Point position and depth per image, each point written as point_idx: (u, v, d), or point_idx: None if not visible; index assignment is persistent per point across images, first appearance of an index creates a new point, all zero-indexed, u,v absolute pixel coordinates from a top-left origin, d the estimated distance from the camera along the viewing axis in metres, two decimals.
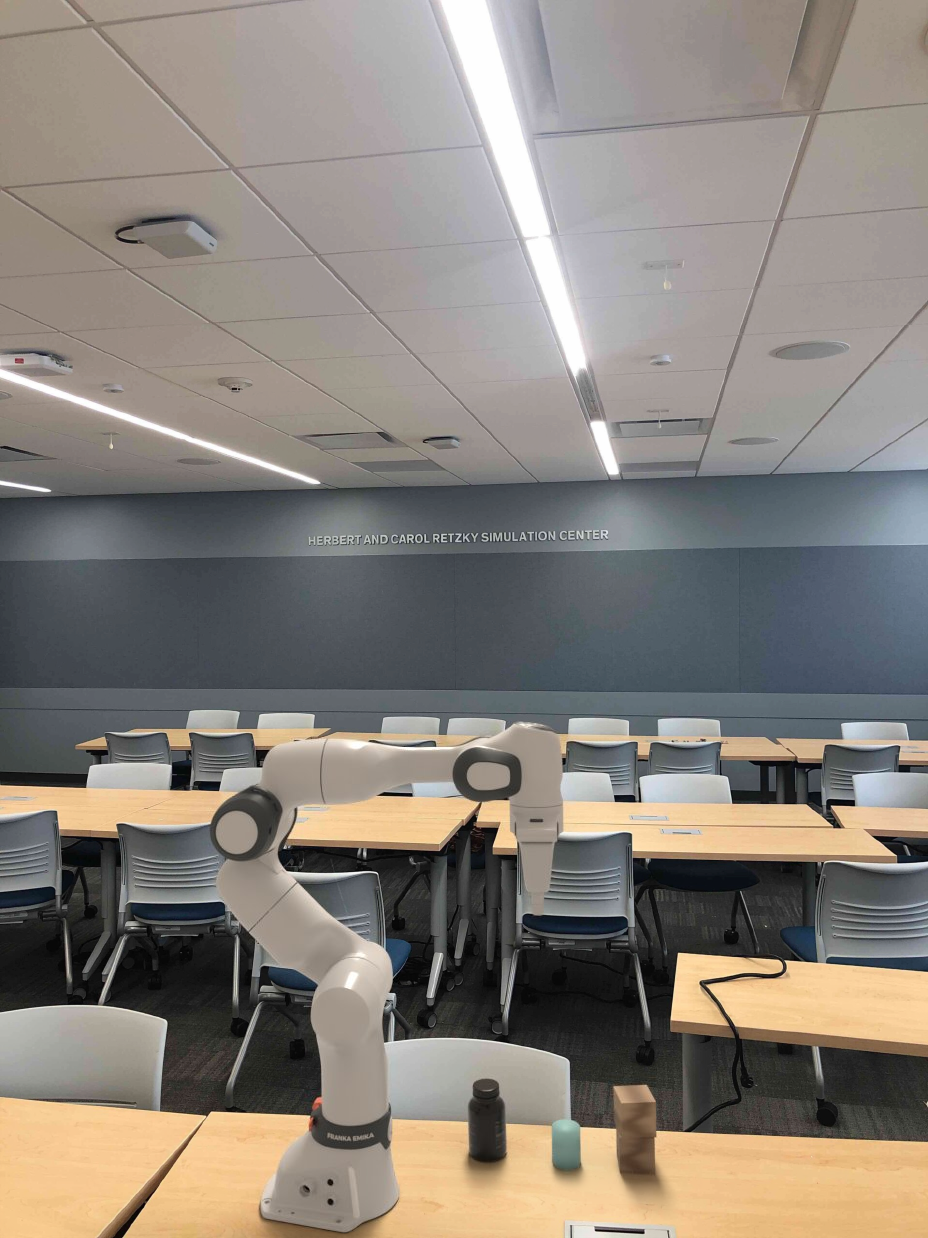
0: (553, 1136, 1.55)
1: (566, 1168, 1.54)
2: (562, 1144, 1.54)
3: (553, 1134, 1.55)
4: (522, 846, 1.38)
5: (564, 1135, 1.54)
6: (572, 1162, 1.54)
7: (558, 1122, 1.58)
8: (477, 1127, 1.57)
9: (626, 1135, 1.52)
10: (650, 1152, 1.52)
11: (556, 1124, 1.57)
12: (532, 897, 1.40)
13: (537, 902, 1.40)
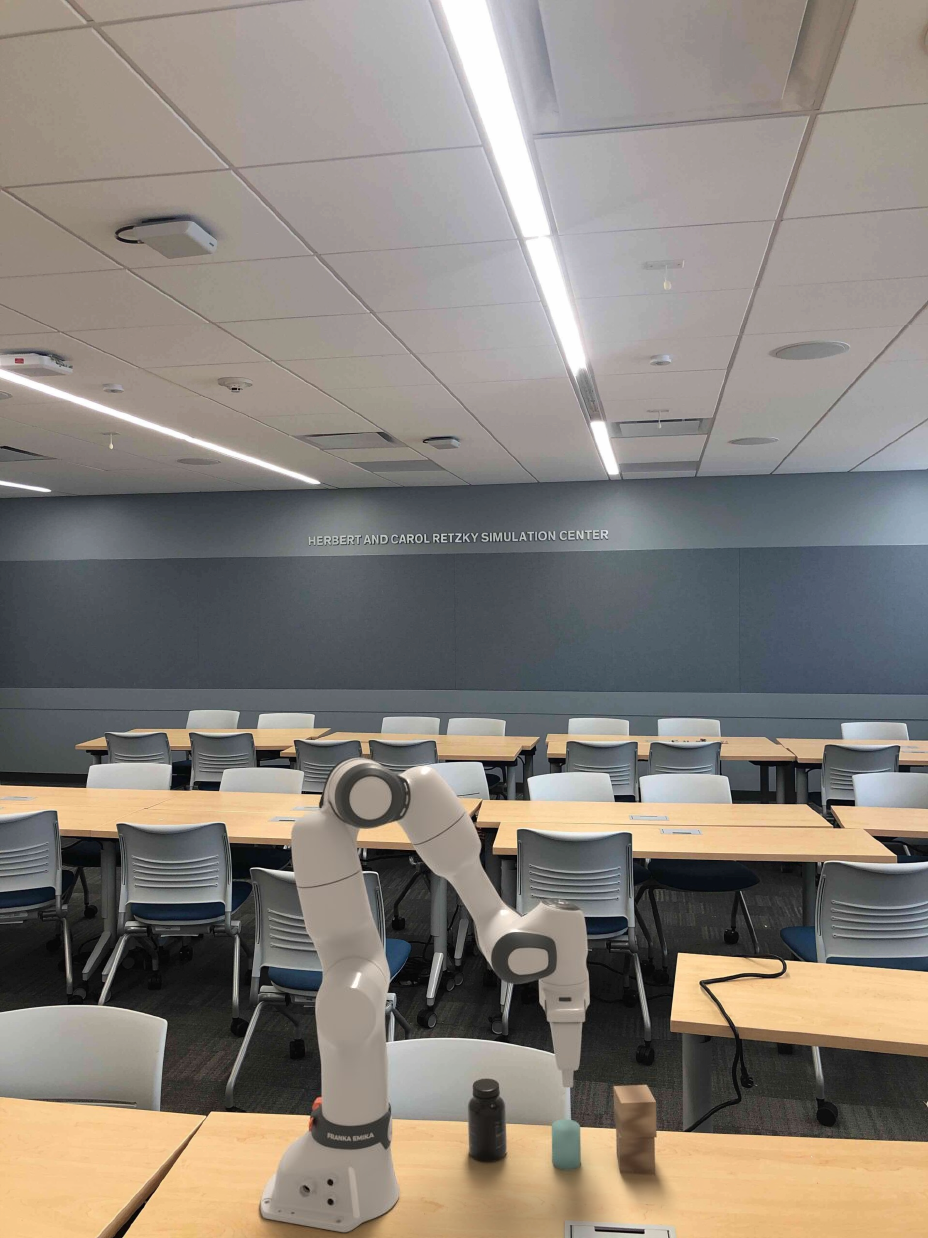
0: (553, 1136, 1.55)
1: (566, 1168, 1.54)
2: (562, 1144, 1.54)
3: (553, 1134, 1.55)
4: (553, 1027, 1.49)
5: (564, 1135, 1.54)
6: (572, 1162, 1.54)
7: (558, 1122, 1.58)
8: (477, 1127, 1.57)
9: (626, 1135, 1.52)
10: (650, 1152, 1.52)
11: (556, 1124, 1.57)
12: (562, 1071, 1.51)
13: (567, 1075, 1.51)
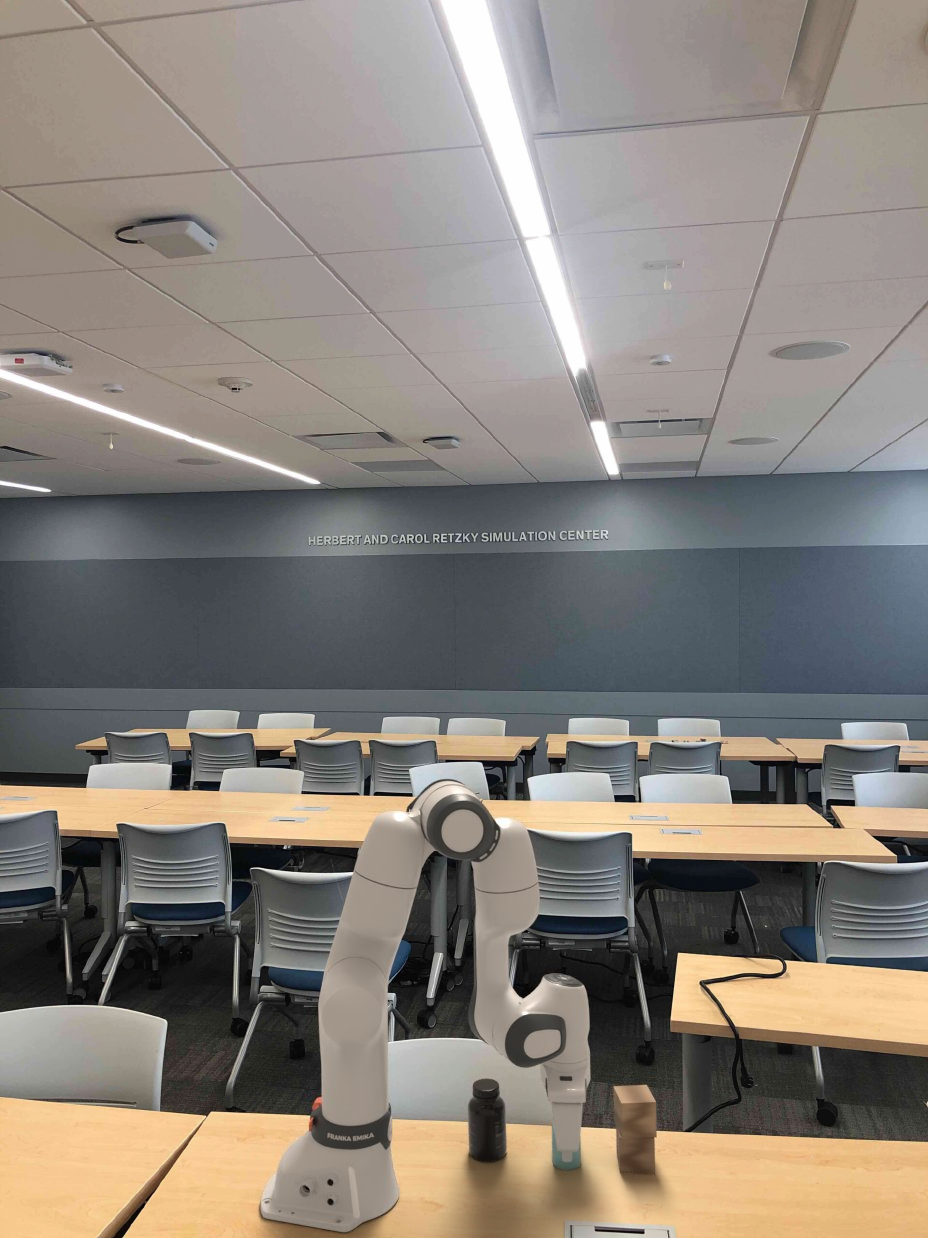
0: (553, 1136, 1.55)
1: (566, 1168, 1.54)
2: None
3: (553, 1134, 1.55)
4: (553, 1107, 1.48)
5: None
6: (572, 1162, 1.54)
7: None
8: (477, 1127, 1.57)
9: (626, 1135, 1.52)
10: (650, 1152, 1.52)
11: None
12: None
13: None
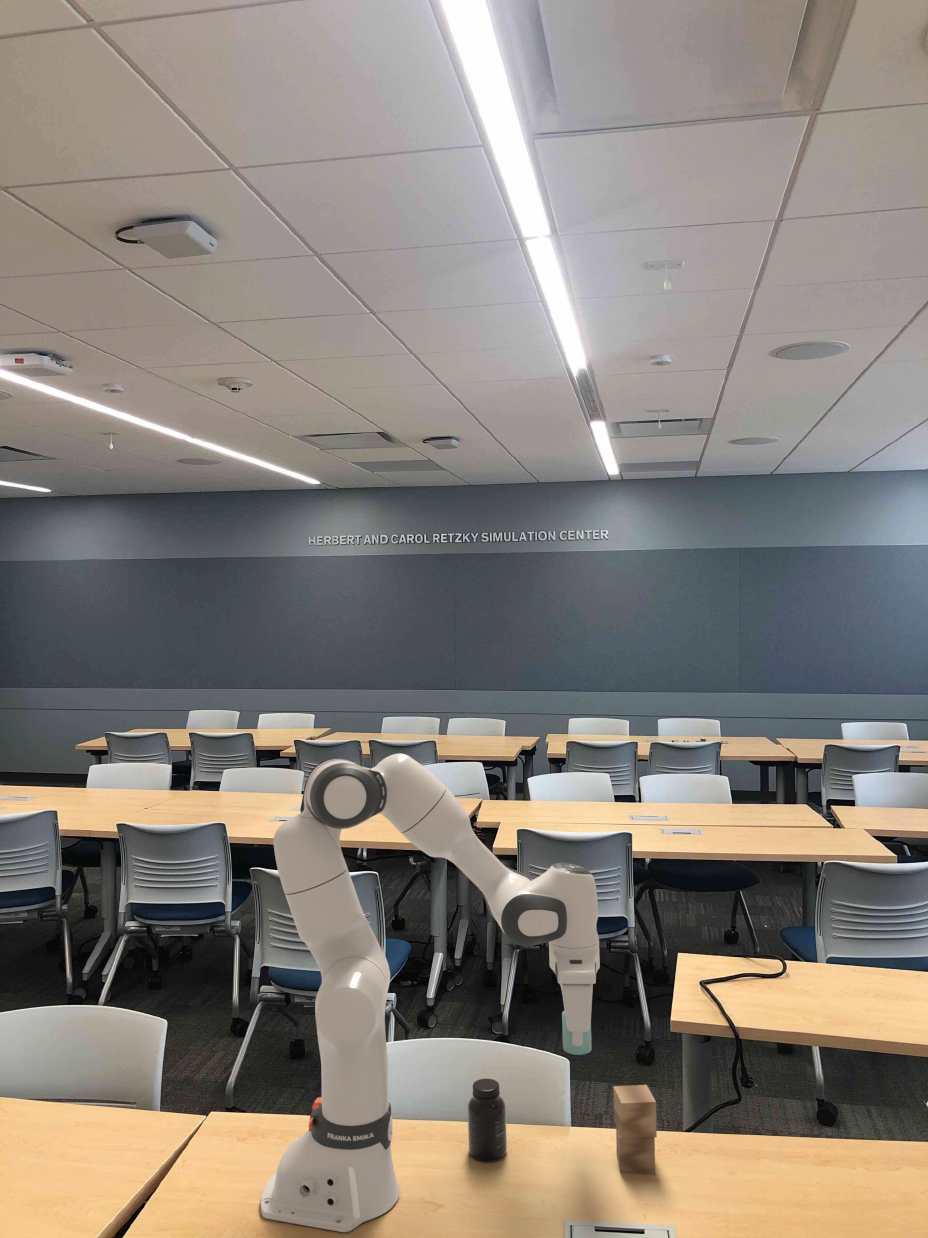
0: (564, 1022, 1.56)
1: (577, 1053, 1.54)
2: None
3: (564, 1020, 1.56)
4: (563, 988, 1.49)
5: None
6: (583, 1047, 1.55)
7: None
8: (477, 1127, 1.57)
9: (626, 1135, 1.52)
10: (650, 1152, 1.52)
11: None
12: None
13: (577, 1034, 1.53)
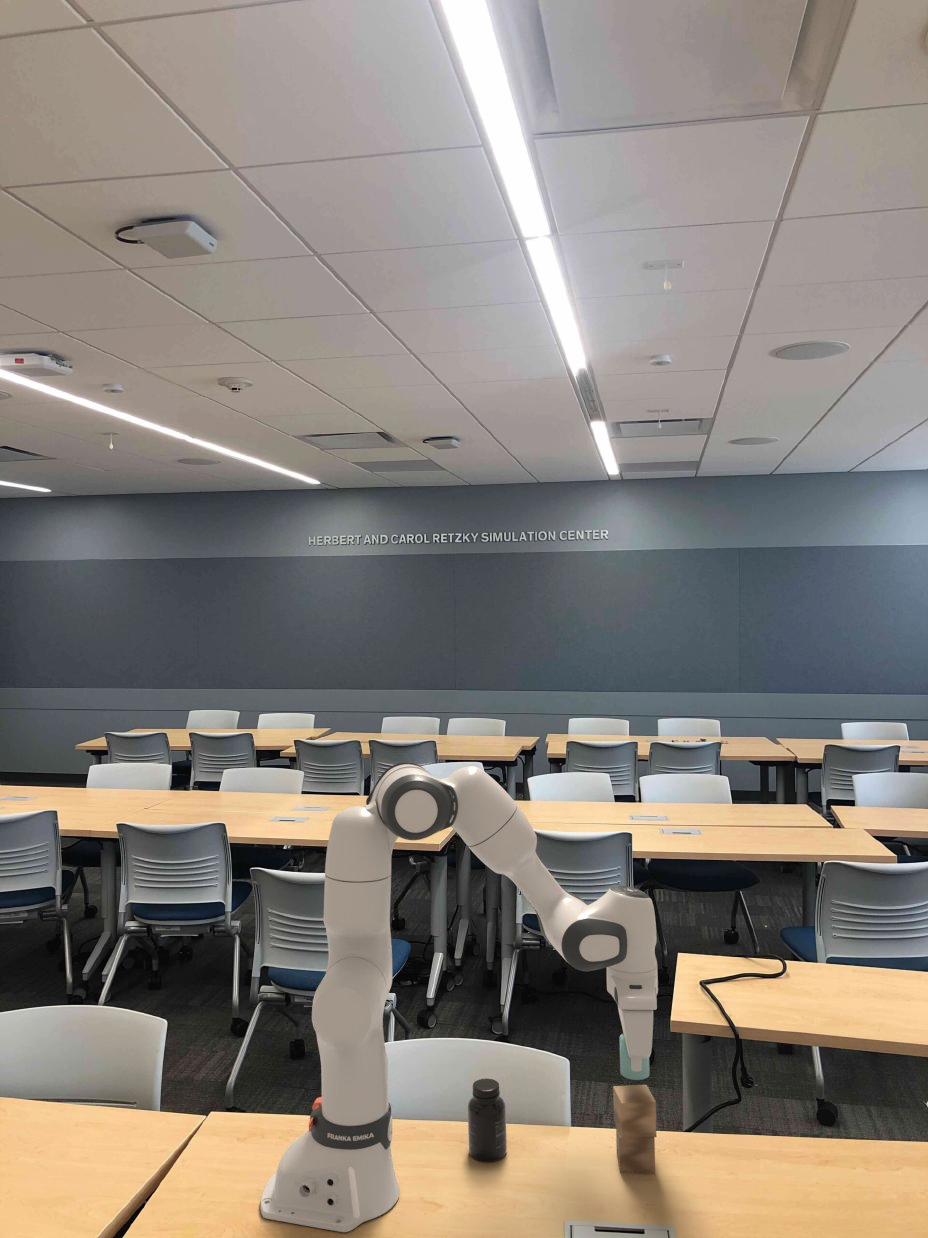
0: (621, 1047, 1.55)
1: (635, 1078, 1.53)
2: None
3: (621, 1045, 1.55)
4: (624, 1014, 1.48)
5: None
6: (641, 1072, 1.53)
7: None
8: (477, 1127, 1.57)
9: (626, 1135, 1.52)
10: (650, 1152, 1.52)
11: None
12: None
13: (636, 1059, 1.52)
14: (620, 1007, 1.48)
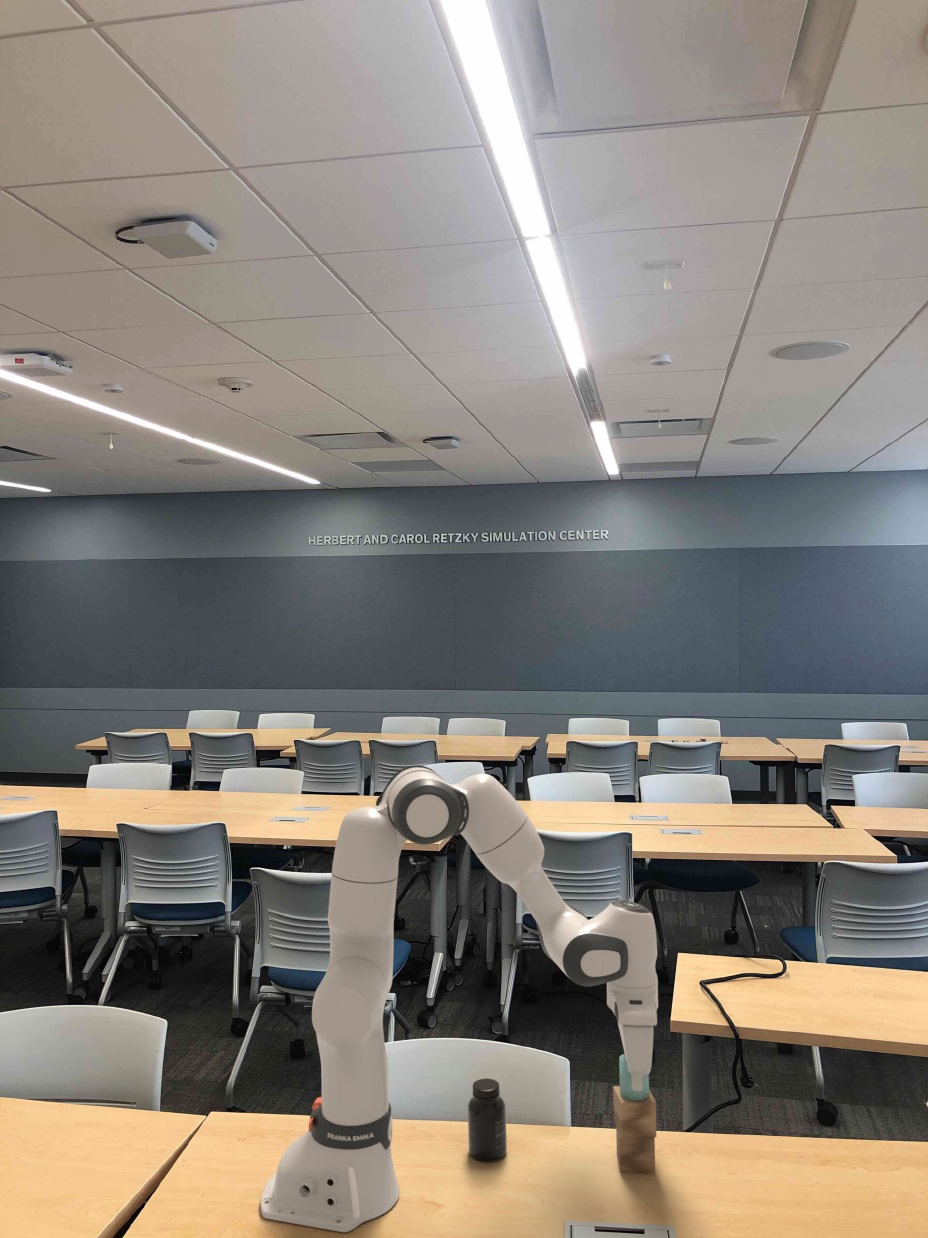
0: (621, 1068, 1.55)
1: (635, 1099, 1.53)
2: None
3: (621, 1066, 1.55)
4: (624, 1029, 1.48)
5: None
6: (641, 1093, 1.53)
7: None
8: (477, 1127, 1.57)
9: (626, 1135, 1.52)
10: (650, 1152, 1.52)
11: (624, 1057, 1.57)
12: (632, 1075, 1.50)
13: (637, 1079, 1.50)
14: (620, 1022, 1.48)
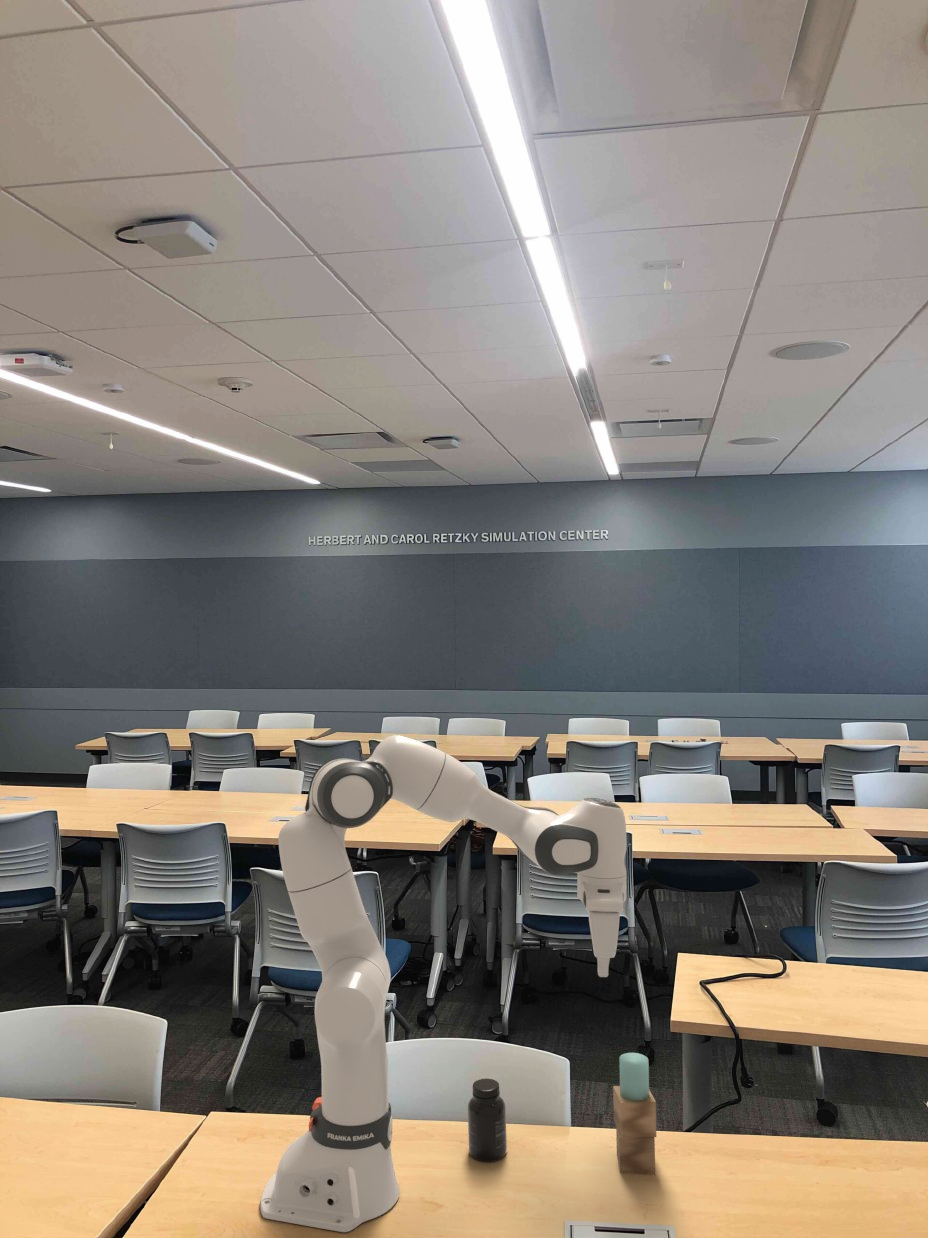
0: (621, 1068, 1.55)
1: (635, 1099, 1.53)
2: (631, 1075, 1.53)
3: (621, 1066, 1.55)
4: (591, 915, 1.53)
5: (633, 1066, 1.53)
6: (641, 1093, 1.53)
7: (625, 1055, 1.57)
8: (477, 1127, 1.57)
9: (626, 1135, 1.52)
10: (650, 1152, 1.52)
11: (624, 1057, 1.57)
12: (598, 961, 1.55)
13: (603, 965, 1.55)
14: (588, 908, 1.53)
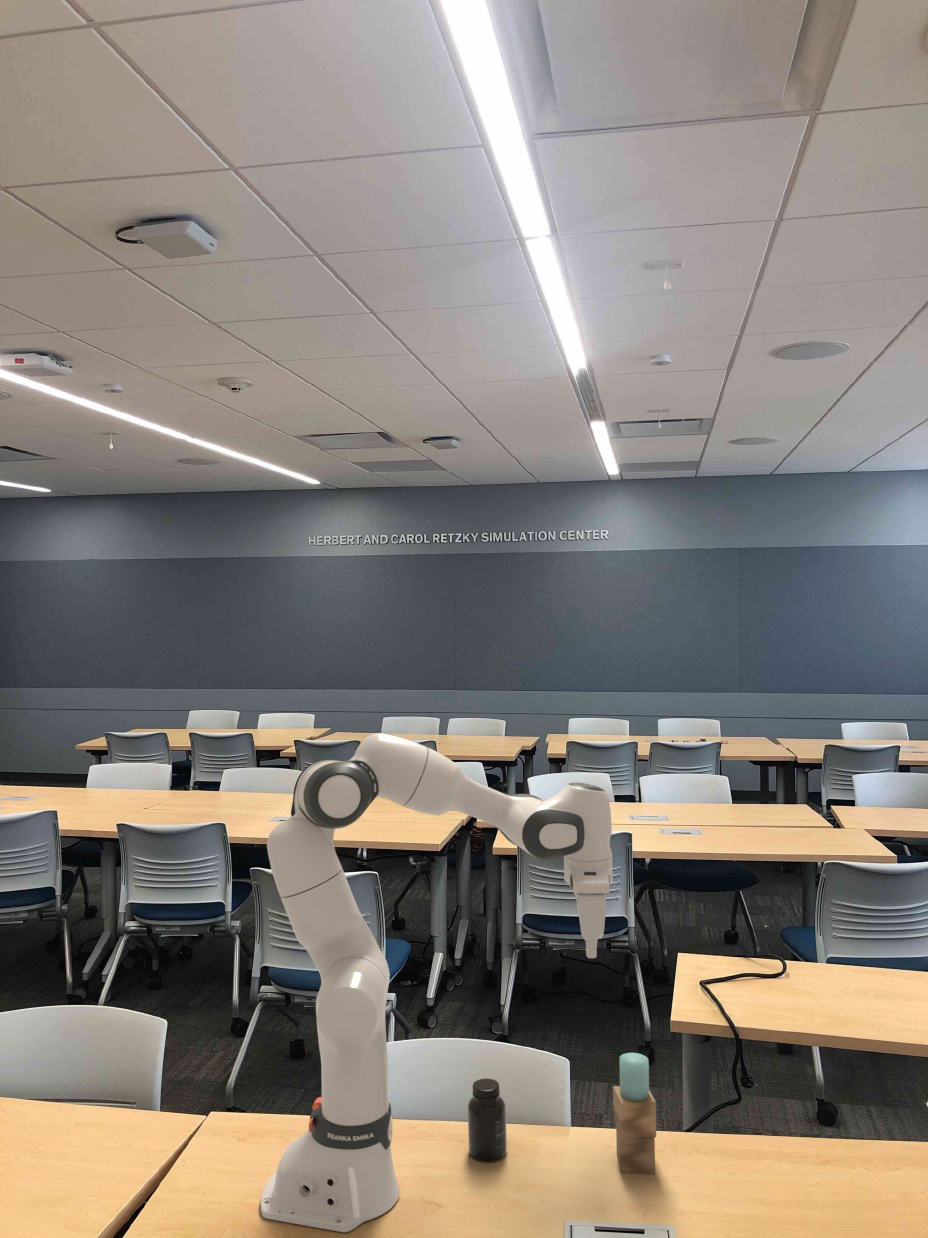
0: (621, 1068, 1.55)
1: (635, 1099, 1.53)
2: (631, 1075, 1.53)
3: (621, 1066, 1.55)
4: (578, 897, 1.55)
5: (634, 1066, 1.53)
6: (641, 1093, 1.53)
7: (625, 1055, 1.57)
8: (477, 1127, 1.57)
9: (626, 1135, 1.52)
10: (650, 1152, 1.52)
11: (624, 1057, 1.57)
12: (587, 942, 1.57)
13: (591, 946, 1.57)
14: (574, 891, 1.55)
